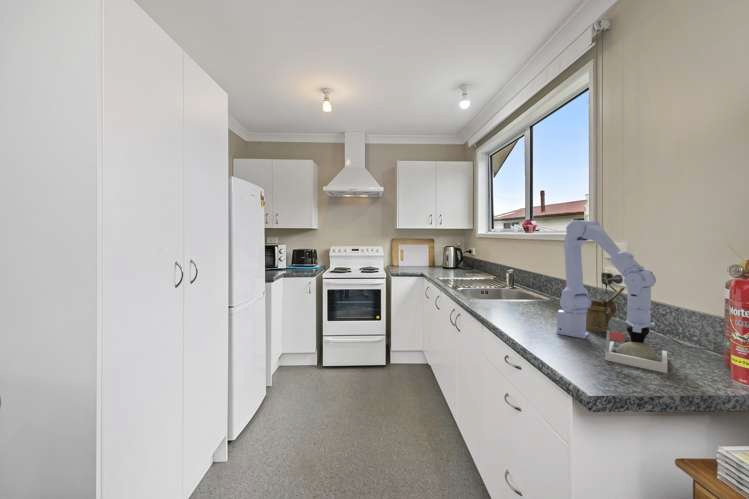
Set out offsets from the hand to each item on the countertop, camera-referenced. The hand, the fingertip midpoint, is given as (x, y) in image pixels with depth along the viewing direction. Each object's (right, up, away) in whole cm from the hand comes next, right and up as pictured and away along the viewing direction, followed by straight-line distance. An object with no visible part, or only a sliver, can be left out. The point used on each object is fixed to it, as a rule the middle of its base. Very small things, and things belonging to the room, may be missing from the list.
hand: (637, 349), depth 102 cm
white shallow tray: (-4, -2, -5) cm, 6 cm away
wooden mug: (+7, -1, +26) cm, 27 cm away
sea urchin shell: (-4, -2, -4) cm, 6 cm away
